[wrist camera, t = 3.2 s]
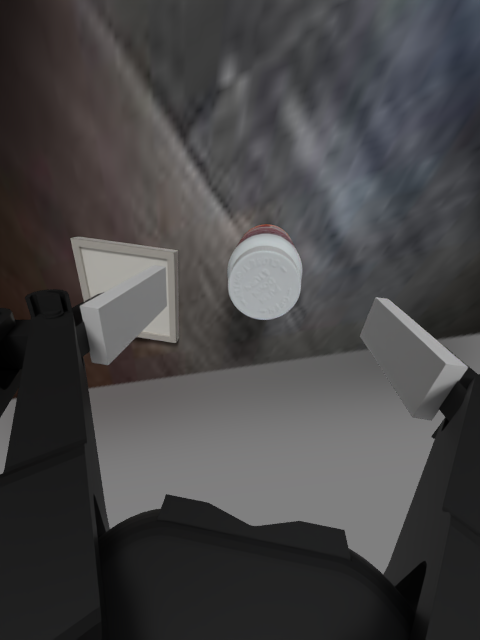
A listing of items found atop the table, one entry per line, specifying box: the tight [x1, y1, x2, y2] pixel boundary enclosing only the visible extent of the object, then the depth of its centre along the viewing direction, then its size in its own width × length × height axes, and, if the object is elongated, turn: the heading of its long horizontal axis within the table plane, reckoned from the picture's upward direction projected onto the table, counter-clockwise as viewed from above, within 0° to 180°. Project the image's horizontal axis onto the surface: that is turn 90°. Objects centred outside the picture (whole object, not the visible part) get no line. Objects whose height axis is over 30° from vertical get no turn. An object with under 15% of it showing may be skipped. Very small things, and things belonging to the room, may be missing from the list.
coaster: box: [70, 237, 179, 343], centre depth 30 cm, size 12×12×1 cm
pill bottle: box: [227, 225, 302, 320], centre depth 22 cm, size 6×6×11 cm
